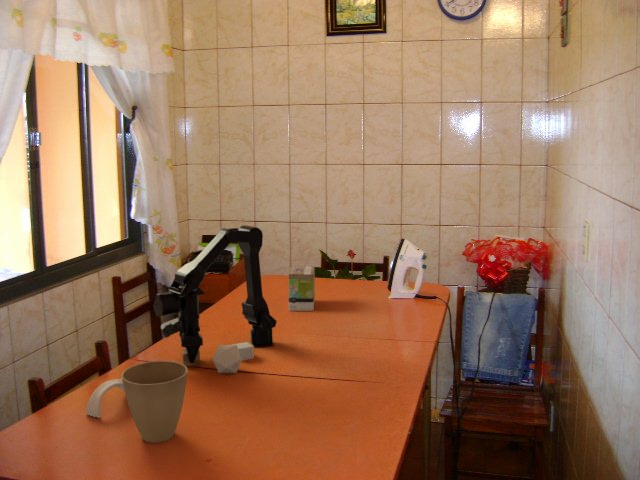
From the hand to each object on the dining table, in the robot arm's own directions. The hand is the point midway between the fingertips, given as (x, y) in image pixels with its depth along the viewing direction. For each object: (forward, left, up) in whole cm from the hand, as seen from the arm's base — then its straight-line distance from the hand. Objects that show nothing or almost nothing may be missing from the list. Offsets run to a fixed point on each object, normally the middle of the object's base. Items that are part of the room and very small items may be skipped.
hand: (191, 359), depth 212 cm
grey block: (-16, -1, -1) cm, 16 cm away
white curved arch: (+18, +24, -2) cm, 31 cm away
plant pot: (+11, +48, -1) cm, 49 cm away
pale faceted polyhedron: (-10, +10, -1) cm, 14 cm away
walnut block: (0, 0, -1) cm, 1 cm away
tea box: (-47, -54, -1) cm, 72 cm away
